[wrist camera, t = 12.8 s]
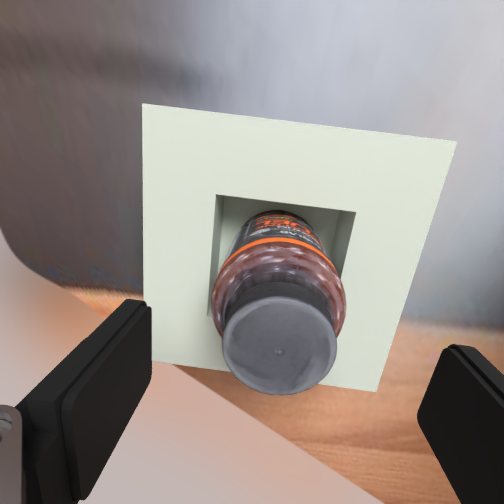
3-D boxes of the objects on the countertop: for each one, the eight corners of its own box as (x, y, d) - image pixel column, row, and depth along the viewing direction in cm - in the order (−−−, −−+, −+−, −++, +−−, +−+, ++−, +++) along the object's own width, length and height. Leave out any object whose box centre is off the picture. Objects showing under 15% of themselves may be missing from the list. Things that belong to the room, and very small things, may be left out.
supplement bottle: (324, 211, 19) (393, 281, 9) (311, 291, 21) (352, 429, 11) (236, 203, 20) (196, 260, 9) (230, 282, 21) (191, 410, 11)
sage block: (395, 146, 21) (457, 141, 14) (347, 328, 27) (375, 391, 20) (183, 120, 22) (142, 103, 15) (177, 306, 27) (144, 360, 20)
